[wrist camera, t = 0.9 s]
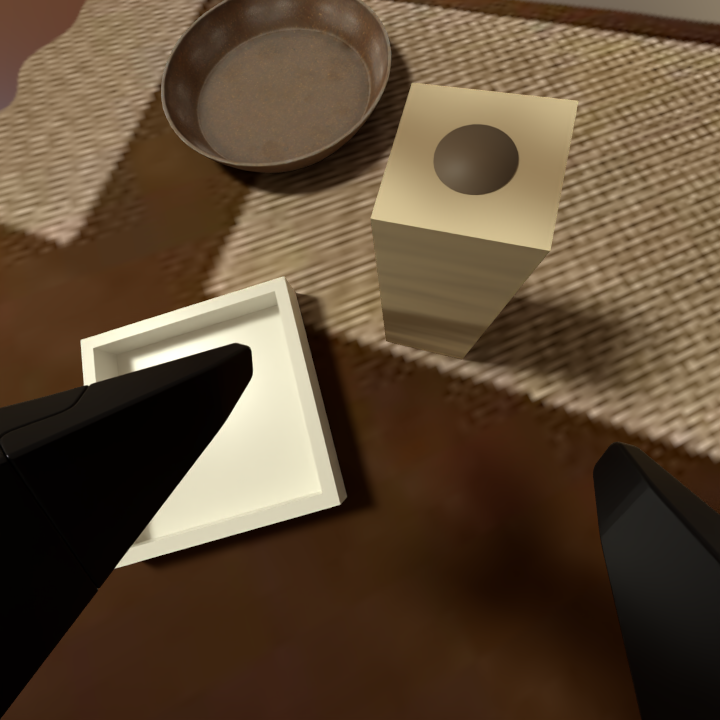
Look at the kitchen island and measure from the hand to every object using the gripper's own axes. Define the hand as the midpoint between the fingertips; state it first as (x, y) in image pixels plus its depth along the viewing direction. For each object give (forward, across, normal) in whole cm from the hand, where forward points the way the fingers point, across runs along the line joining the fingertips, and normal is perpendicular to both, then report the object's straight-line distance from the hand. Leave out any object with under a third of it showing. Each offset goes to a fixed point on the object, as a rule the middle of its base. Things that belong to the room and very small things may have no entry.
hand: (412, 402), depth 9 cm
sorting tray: (+7, +12, +11) cm, 18 cm away
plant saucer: (+26, +16, -6) cm, 31 cm away
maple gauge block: (+14, 0, +4) cm, 15 cm away
